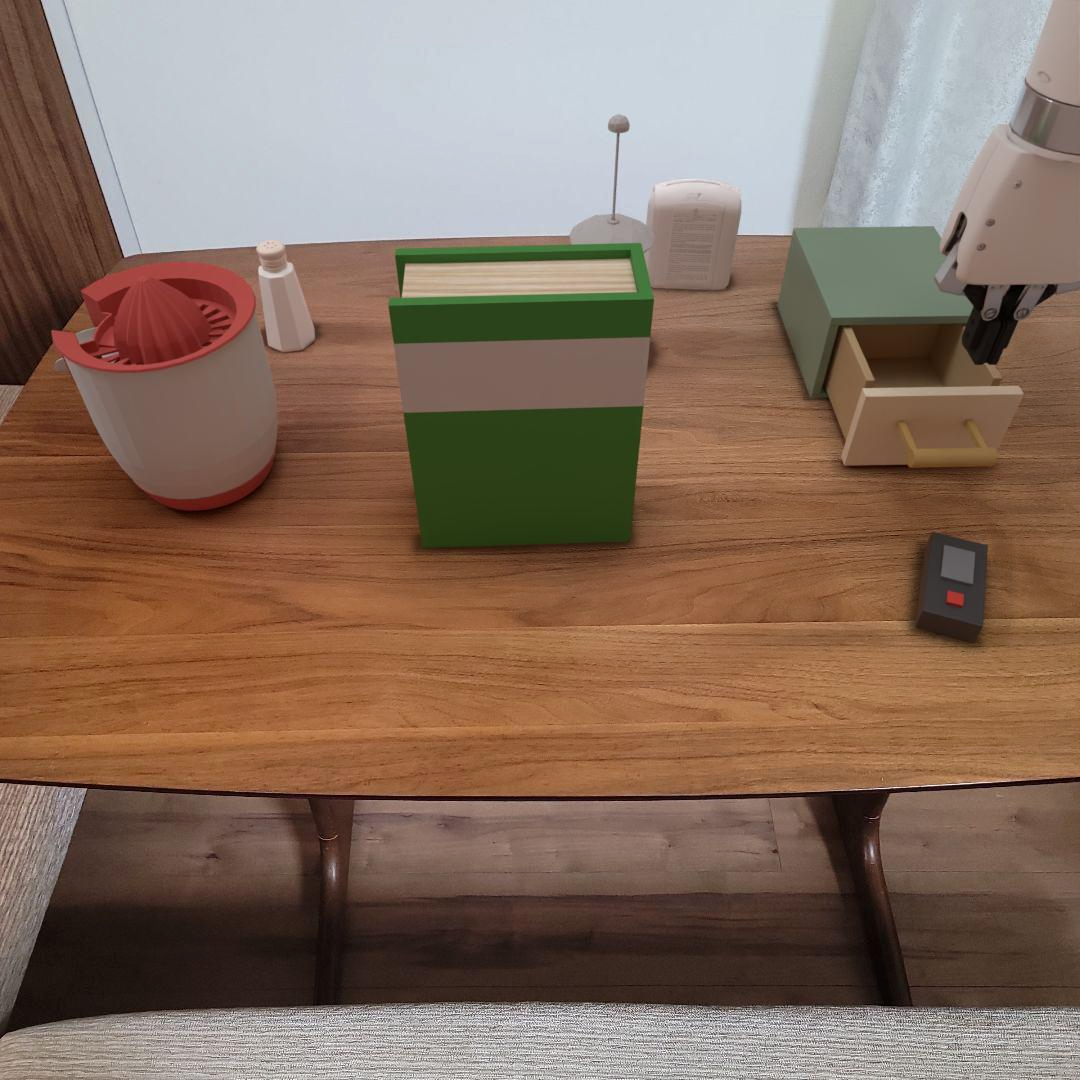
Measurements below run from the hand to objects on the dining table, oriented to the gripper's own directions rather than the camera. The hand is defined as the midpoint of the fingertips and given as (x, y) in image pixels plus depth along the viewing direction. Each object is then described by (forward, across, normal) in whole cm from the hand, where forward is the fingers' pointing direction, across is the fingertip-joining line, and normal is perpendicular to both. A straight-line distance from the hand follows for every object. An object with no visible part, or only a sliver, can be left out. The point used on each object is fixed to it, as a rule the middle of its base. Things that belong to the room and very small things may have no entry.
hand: (979, 354), depth 73 cm
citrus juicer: (+15, +66, -4) cm, 68 cm away
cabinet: (+15, 0, -22) cm, 26 cm away
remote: (+15, +2, +12) cm, 19 cm away
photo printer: (+15, +17, -36) cm, 42 cm away
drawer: (+14, 0, -8) cm, 16 cm away
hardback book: (+15, +36, +3) cm, 39 cm away
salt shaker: (+15, +61, -25) cm, 68 cm away
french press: (+15, +27, -20) cm, 37 cm away
